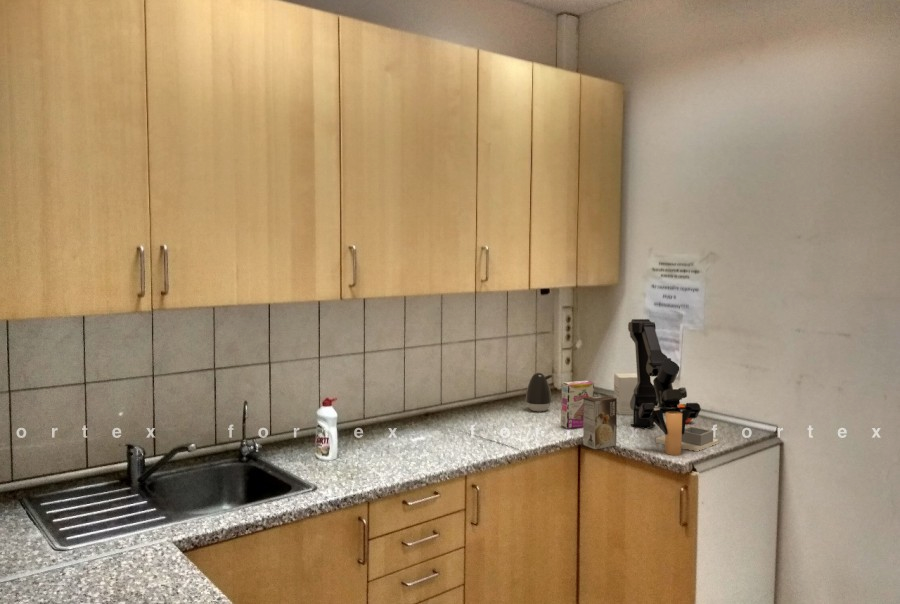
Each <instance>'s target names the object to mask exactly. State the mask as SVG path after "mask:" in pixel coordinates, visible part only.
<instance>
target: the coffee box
mask: <svg viewBox="0 0 900 604" xmlns="http://www.w3.org/2000/svg"><path fill="white" fill-rule="evenodd" d="M617 415H618V413H617V398H614V396H610V395H609V396H608V395H606V394H604V395H603V394H602V395H596V396H594V397H586V398H584V427H583V435H582V436H583V438H582V439H583V444H582V445H583V446H585V447H587V448H590V449H593V450H599V449H605V448H611V447H615V446H617V425H618V424H617V418H618V417H617Z"/></svg>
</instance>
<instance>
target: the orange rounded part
mask: <svg viewBox="0 0 900 604" xmlns="http://www.w3.org/2000/svg"><path fill="white" fill-rule="evenodd" d="M665 425H666V428H667V435H665V434H664V436H665V444H664V453H665V454H666V455H667V456H668V455H669V456H681V455H682V448H681V445H682V413H681V412H677V411H667V412H666V414H665Z"/></svg>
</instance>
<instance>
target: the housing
mask: <svg viewBox="0 0 900 604" xmlns="http://www.w3.org/2000/svg"><path fill="white" fill-rule="evenodd" d="M655 443H658V444H661V445H662V444H663V445H665V435H663V436H659V437H656V438H655ZM719 443H720V441H719V439H715V438H714V430H711V429H705V428H699V427H696V426H692V425H690V426H687V427H685V432H684V434H682V445H681V449H683V448H684V449H685V450H687V449H689V450H688V451H692V450H694V451H693V452H696V451H698V452H700V451H702V449H703V450H705V449H704V448H706V449H707V447H708V448H710V447H709V446H711V447H713V446H716V445H718V444H719ZM715 444H716V445H715ZM712 445H713V446H712ZM684 449H683V450H684ZM699 450H700V451H699Z"/></svg>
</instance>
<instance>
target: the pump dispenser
mask: <svg viewBox="0 0 900 604" xmlns="http://www.w3.org/2000/svg"><path fill="white" fill-rule="evenodd" d="M551 378H553V374H549V375H546V376H545V374H543V373H541V372H535V373H534V374H533V375H532V376H531V378H530V380H529V382H528V385H527V389H526V394H525V403H526V405H527V408H528V409H529V410H530V411H532V412H535V411H537V412H538V413H542V411H543V412H545V411H548V410H549V408H550V406H551V403H552V392H551V388H550V385H549V381H548V380H549V379H551ZM537 412H536V413H537Z"/></svg>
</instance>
